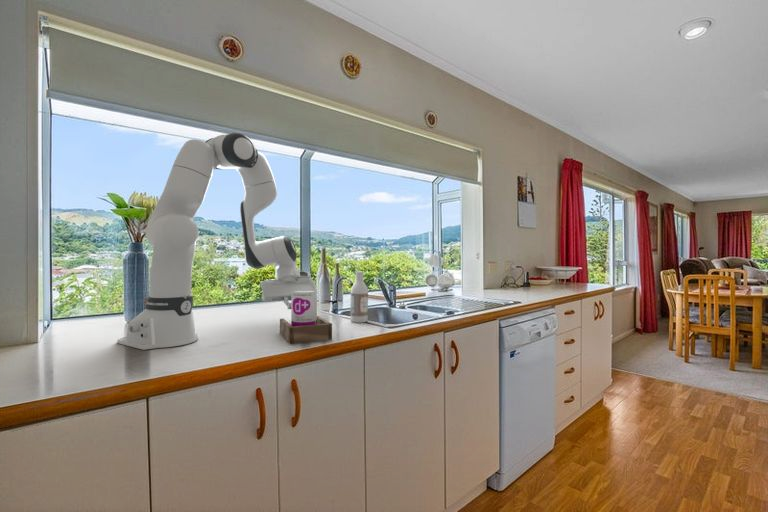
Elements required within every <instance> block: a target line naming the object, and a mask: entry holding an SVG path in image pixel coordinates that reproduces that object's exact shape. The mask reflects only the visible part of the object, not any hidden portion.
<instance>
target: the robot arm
mask: <svg viewBox="0 0 768 512" xmlns="http://www.w3.org/2000/svg"><path fill="white" fill-rule="evenodd" d="M226 169H229V170H232V169H233V170H234V169H235V171H237V173H238V174H239V175H240V177H241V181H242V185H243V188H244V199H243V200H242V201H241V202H240V207H239V210H240V211H239V213H240V220H241V221H240V223H241V229H242V230H241V231H242V236H243V244H244V258H245V262H246V263H247V265H248V266H249V267H251V268H254V269H256V270H258V269H262V268H266V267H267V266H272V265H273V266H274V269H275V271H274V273H275V274H274V275H275V279H273V278H272V279H264V280H263V281H261V282H260V283H259V286H260V289H261V290H262V292H261V293H262V295H261V300H262V302H263V303H270V302H272V303H273V302H283V303H284V305H286V307H287V310H291V302H289V301H291V296H292V294H293V291H297V290H313V291H315V293H316V295H317V294H318V290H317V287H316V283H315V281H314V279H313V278H312V276H311V275H312V274H311V273H310V272H308V271H303V270H300V269H298V268H297V258H298V256H297V250H296V245H295V243H294V240H293V239H291V238H289V237H288V236H285V235H282V236H278V237H273V238H269V239H266V240H261V241H257V240H256V233H255V225H254V220H255V218H256V216H257V215H258V214H259V213H261V212H262V211H264V210H266V209H267V208H268V207H270V206H271V205H272V204H273V203H274V202H275V200H276V199H277V197H278V188H277V184H276V180H275V177H274V174H273V171H272V169H271V166H270V163H269V161H268V159H267V158H266V155H264V154H263V152H259V151H258V150H257V148H256V145H255V144H254V142H253V141H252V139H251V138H250V137H249V136H247V135H245V134H243V133H239V132H232V133H229V134H228V133H227V134H226V133H225V134H220V135H217V136H215V137H211V138H209V139H208V140H206V141H204V140H201V139H194V138H193V139H190V140H189V139H188V140H187V141H186V142H184V144H183V145H182V146H181V148H180V151H179V152H178V154H177V155H176V158H175V160H174V162H173V164H172V166H171V170H170V172H169V176H168V178H167V180H166V184H165V186H164V188H163V191H162V193H161V195H160V196H159V197H160V198H159V199H158V201H157V203H156V205H155V207H154V209H153V211H152V213H151V216H150V218H149V221H148V223H147V225H146V227H145V231H144V232H145V237H146V240H147V241H148V243H149V244H150V245H151V246H152V247H153V251H152V257H151V264H150V265H151V266H150V268H149V296H148V298H142V301H143V302H142V303H143V304H144V303H145V306H144V309H143V310H142V311H141V312H140V313H139V314H138V315H136V316H135V317H133V319H131V320H130V321H128V324H127V328H126V335H125V336H123V337H120V338H119V339H117V341H116V343H117V344H121V345H123V346H127V347H131V348H136V349H139V350H152V349H160V348H161V349H163V348H171V347H178V346H184V345H189V344H191V343H194V342H197V340H198V337H197V336H198V332H197V331H196V325H195V318H194V312H193V306H194V295H193V294H192V276H193V275H192V273H193V272H192V270H193V262H194V258H195V254H196V244H197V239H198V237H199V234H200V232H199V227H198V225H197V223H196V222H195V220H194V218H195V217H196V214H197V212H199V209H200V207H202V205H203V203H204V200H205V199H206V198H205V197H206V194H207V191H208V188H209V186H210V183H211V180H212V177H213V173H214V171H215V170H226ZM317 296H318V295H317Z"/></svg>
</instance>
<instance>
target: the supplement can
mask: <svg viewBox="0 0 768 512" xmlns="http://www.w3.org/2000/svg"><path fill="white" fill-rule="evenodd" d="M290 301H291V302H290V303H291V309H290V310H291V312H290V313H291V314H290V315H291V316H290V317H291V318H290V319H291V321H290V324H291V325H292V326H293V327H295V326H306V325H317V316H318V310H317V309H318V295H316V293H315V291H313V290H297V291H293V294H292V296H291V300H290Z"/></svg>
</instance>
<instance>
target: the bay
mask: <svg viewBox="0 0 768 512" xmlns="http://www.w3.org/2000/svg"><path fill="white" fill-rule="evenodd" d="M279 334H280V336H282V338H283V339H284V340H286V341H287V343H288V344H289V343H290V344H289V345H294V344H303V343H312V342H313V343H314V342H321V341H330V340H332V339H333V323H331V322H329V320H326V319H324V318H322V317H321V316H319V315H317V325H306V326H295V327H293V326H292V325H291V323H290V322H288V321H287V320H286V319H285V318H279Z"/></svg>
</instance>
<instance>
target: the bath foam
mask: <svg viewBox="0 0 768 512" xmlns="http://www.w3.org/2000/svg"><path fill="white" fill-rule="evenodd" d="M349 303H350V307H349V308H350V309H349V310H350V311H349V312H350V322H351V323H356V324H357V323H359V324H360V323H366V321H367V322H368V320H369V319H368V317H369V316H368V315H369V313H368V312H369V308H368V307H369V290H368V286H367V285H366V283H365V281H364V271H361V270H359V271H358V270H357V271H355V281H354V283H353V285H352V286H351V289H350V302H349Z"/></svg>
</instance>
